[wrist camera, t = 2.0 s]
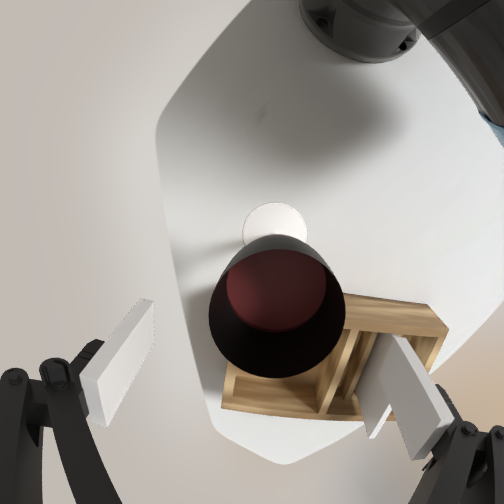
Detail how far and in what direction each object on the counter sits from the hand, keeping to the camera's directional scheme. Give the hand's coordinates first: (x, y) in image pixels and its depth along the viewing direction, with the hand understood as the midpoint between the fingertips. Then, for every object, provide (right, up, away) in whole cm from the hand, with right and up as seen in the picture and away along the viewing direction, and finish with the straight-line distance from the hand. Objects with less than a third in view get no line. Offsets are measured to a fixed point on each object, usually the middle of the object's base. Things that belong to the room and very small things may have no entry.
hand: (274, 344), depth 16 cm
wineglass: (+2, +7, +21) cm, 22 cm away
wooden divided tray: (+9, -8, +25) cm, 28 cm away
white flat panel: (+15, -9, +24) cm, 30 cm away
